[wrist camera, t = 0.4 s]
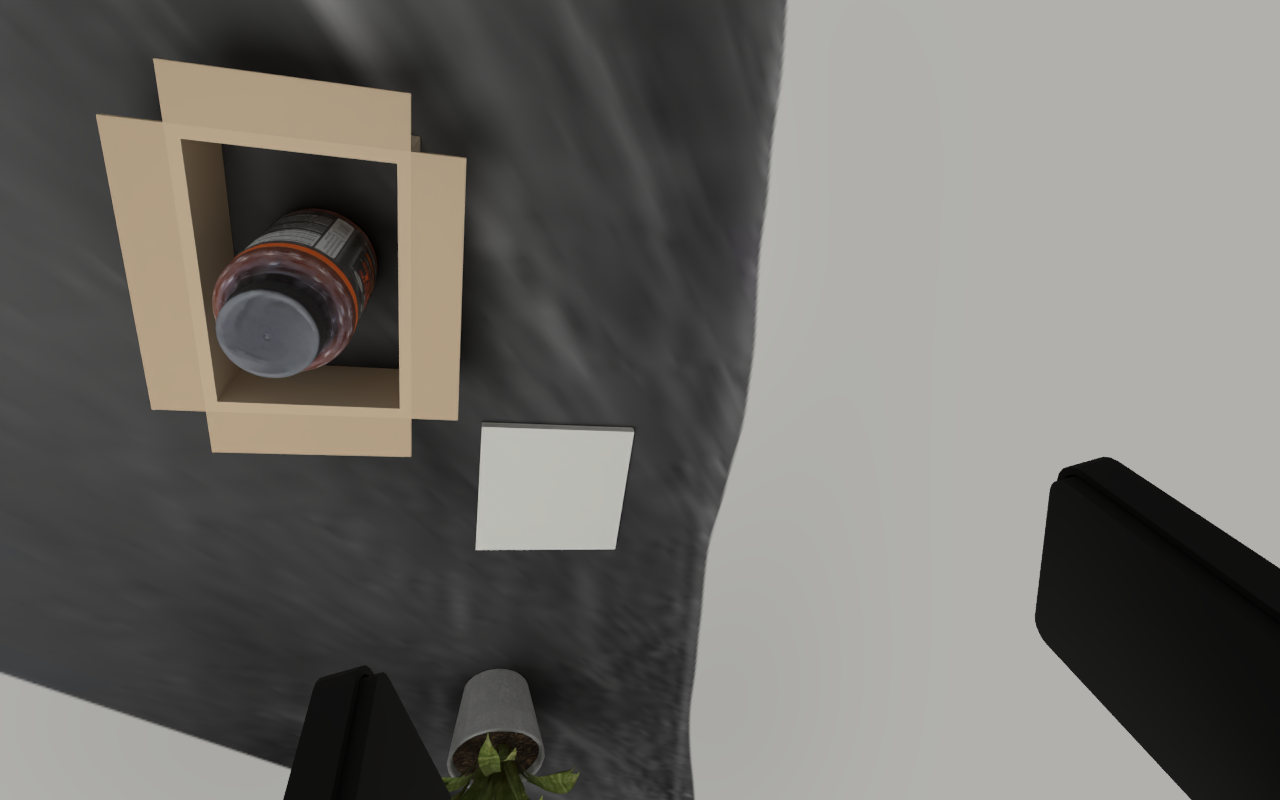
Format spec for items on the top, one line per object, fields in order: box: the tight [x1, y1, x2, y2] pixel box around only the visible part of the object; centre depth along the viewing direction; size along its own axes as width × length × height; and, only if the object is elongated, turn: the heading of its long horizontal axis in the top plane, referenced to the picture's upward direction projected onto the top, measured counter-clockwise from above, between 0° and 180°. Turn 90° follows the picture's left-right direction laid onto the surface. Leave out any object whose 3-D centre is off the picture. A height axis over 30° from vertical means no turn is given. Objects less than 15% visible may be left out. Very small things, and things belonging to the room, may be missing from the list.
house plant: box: [442, 669, 580, 800], centre depth 50 cm, size 14×14×16 cm
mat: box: [476, 422, 634, 550], centre depth 48 cm, size 10×10×1 cm
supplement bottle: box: [212, 209, 378, 378], centre depth 34 cm, size 6×6×11 cm
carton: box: [96, 58, 467, 457], centre depth 37 cm, size 19×15×5 cm
